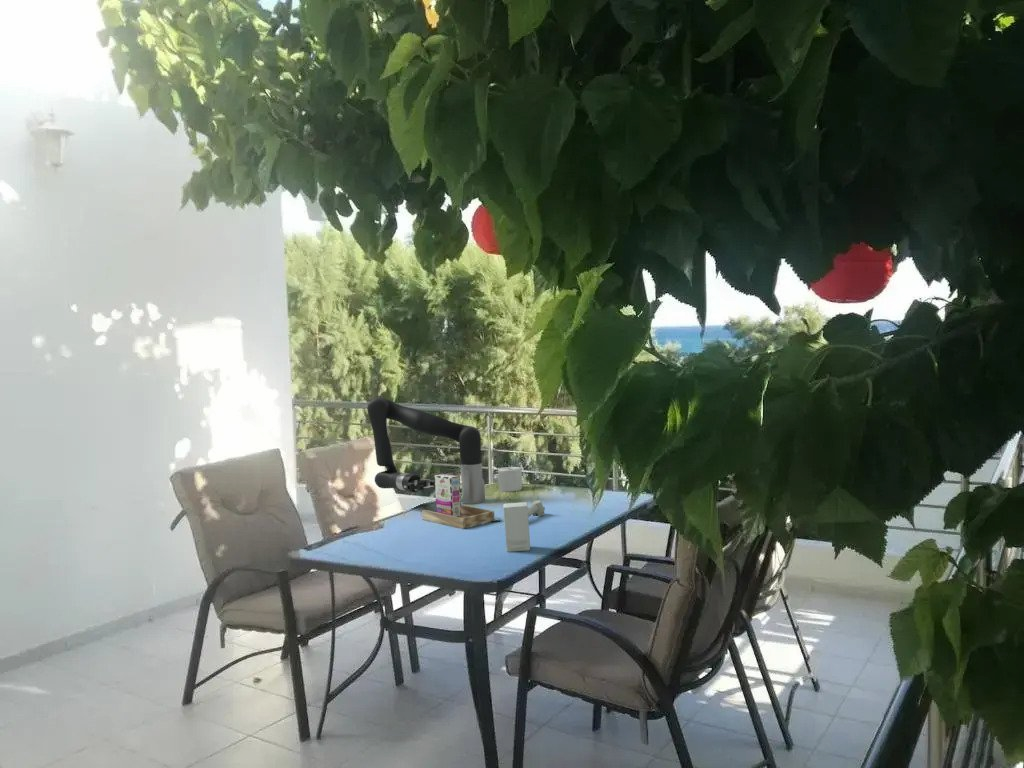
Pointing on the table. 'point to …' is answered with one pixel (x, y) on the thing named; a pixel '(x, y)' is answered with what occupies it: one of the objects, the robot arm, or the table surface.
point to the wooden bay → (467, 519)
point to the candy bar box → (448, 494)
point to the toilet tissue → (510, 479)
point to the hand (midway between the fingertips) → (431, 486)
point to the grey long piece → (536, 509)
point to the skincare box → (516, 527)
